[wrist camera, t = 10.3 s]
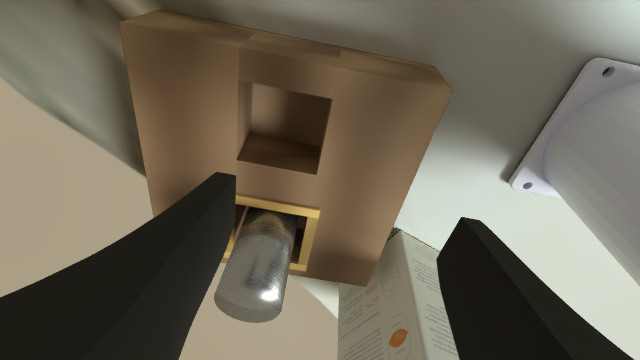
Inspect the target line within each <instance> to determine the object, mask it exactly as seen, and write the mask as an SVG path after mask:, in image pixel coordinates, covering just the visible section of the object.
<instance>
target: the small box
mask: <svg viewBox="0 0 640 360" xmlns="http://www.w3.org/2000/svg"><path fill="white" fill-rule="evenodd" d="M439 253H440V252H438V251H436V250H434V249H433V248H431V247H429V246H427V245H426V244H424V243H422V242H420V241H418V240H417V239H415V238H413V237H411V236H410V235H408V234H406V233H404V232H403V231H399V232H398V233H396V234H395V235H394V236H393V237H392V238H391V239H390V240H389V241H387V242H386V243H385V246H384V248H383V250H382V253H381V255H380V257H379V259H378V262H377V264H376V266H375V269H374V271H373V273H372V275H371V278H370V280H369V282H368V284H367V287H362V286H357V285H351V284H345V283H340V284H339V314H338V360H459V356H458V353H457V349H456V346H455V342H454V338H453V335H452V331H451V328H450V324H449V320H448V317H447V313H446V309H445V306H444V302H443V298H442V294H441V290H440V285H439V278H438V270H437V261H436V258H437V257H438V255H439Z"/></svg>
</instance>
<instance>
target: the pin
mask: <svg viewBox="0 0 640 360" xmlns="http://www.w3.org/2000/svg"><path fill="white" fill-rule="evenodd" d="M298 218H299V215H295V214H290V213H284V212H279V211H273V210H268V209H262V208H256V207H251V206H249V208H248V211H247V213H246V216H245V218H244V221H243V223H242V226H241V228H240V231H239V234H238V236H237V239H236V241H235V244H234V246H233V249H232V251H231V254H230V256H229V259H228V262H227V264H226V267H225V269H224V272H223V274H222V277H221V279H220V282H219V284H218V287H217V290H216V292H215V295H214V300H215V303H216V305H217V306H218V308H219V309H220V310H221V311H222V312H224V313H225V314H226V315H228V316H230V317H232V318H235V319H238V320H241V321H245V322H254V323H259V322H266V321H269V320H272V319H274V318H276V317H277V316H278V315H279V314H280V312H281V309H282V304H283V298H284V293H285V288H286V282H287V277H288V272H289V266H290V261H291V256H292V250H293V245H294V240H295V234H296V229H297V224H298Z"/></svg>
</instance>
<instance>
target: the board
mask: <svg viewBox="0 0 640 360" xmlns="http://www.w3.org/2000/svg"><path fill="white" fill-rule="evenodd" d="M119 27H120V32H121V38H122V44H123V49H124V55H125V60H126V66H127V72H128V77H129V83H130V88H131V94H132V99H133V105H134V111H135V116H136V122H137V127H138V133H139V139H140V144H141V150H142V155H143V161H144V167H145V172H146V178H147V183H148V188H149V194H150V200H151V206H152V211H153V217H156V216H157V215H159V214H160V213H162V212H163V211H165V210H166V209H167V208H169V207H170V206H171V205H173V204H174V203H176V202H177V201H178V200H180V199H181V198H182V197H184V196H185V195H186V194H188V193H189V192H190V191H192V190H193V189H194V188H196V187H197V186H198V185H199V184H201V183H202V182H203V181H205V180H206V179H207V178H208V177H210V176H211V175H212V174H214V173H215V172H221V173H227V174H232V175H236V203H235V224H234V228H233V231H232V234H231V237H230V240H229V243H228V246H227V249H226V252H225V254H224V256H223V258H222V260H221V262H222V263H227V262H228V259H229V256H230V254H231V251H232V249H233V246H234V244H235V241H236V239H237V236H238V234H239V231H240V228H241V226H242V223H243V221H244V218H245V216H246V213H247V211H248V208H249V206H251V207H256V208H262V209H268V210H273V211H279V212H284V213H290V214H295V215H299V218H298V224H297V229H296V234H295V240H294V245H293V250H292V256H291V261H290V266H289V272H288V274H292V275H298V276H304V277H310V278H316V279H321V280H327V281H333V282H339V283H345V284H351V285H357V286H362V287H367V284H368V282H369V280H370V278H371V275H372V273H373V271H374V269H375V266H376V264H377V262H378V259H379V257H380V255H381V253H382V250H383V248H384V246H385V243H386V241H387V239H388V237H389V234H390V232H391V230H392V227H393V225H394V223H395V221H396V218H397V216H398V214H399V212H400V209H401V207H402V205H403V202H404V200H405V198H406V196H407V193H408V191H409V189H410V186H411V184H412V182H413V180H414V177H415V175H416V173H417V170H418V168H419V166H420V164H421V161H422V159H423V157H424V155H425V152H426V150H427V148H428V145H429V143H430V141H431V139H432V136H433V134H434V132H435V129H436V127H437V125H438V123H439V120H440V118H441V116H442V113H443V111H444V109H445V107H446V104H447V102H448V100H449V98H450V95H451V93H452V91H453V90H452V89H451V88H450V87H449V85H448V84H447V83H446V81H445V80H444V79H443V77H442V76H441V75H440V74H439V72H438V71H437V70H436V68H435V67H434V66H429V65H424V64H419V63H414V62H410V61H405V60H400V59H395V58H390V57H386V56H381V55H376V54H371V53H366V52H361V51H357V50H352V49H347V48H342V47H337V46H333V45H328V44H323V43H318V42H313V41H308V40H304V39H299V38H294V37H289V36H284V35H280V34H275V33H270V32H265V31H260V30H255V29H251V28H246V27H241V26H236V25H231V24H227V23H222V22H217V21H212V20H207V19H202V18H198V17H193V16H188V15H183V14H178V13H174V12H169V11H164V10H158V11H154V12H151V13H148V14H144V15H141V16H138V17H135V18H131V19H128V20H125V21H121V22H119Z"/></svg>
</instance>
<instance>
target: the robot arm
mask: <svg viewBox="0 0 640 360" xmlns="http://www.w3.org/2000/svg"><path fill="white" fill-rule="evenodd" d="M608 67H610V68H609V71H608V72H607V73H606V74H604V75H602V73H603V71H604V70H605V69H606V68H608ZM527 182H529V183H528V184H527V185H524V184H525V183H527ZM509 185H510V186H511V188H512V189H514V190H518V191H523V192H528V193H534V194H539V195H544V196H549V197H554V198H560V199H564V201H565V202H566V203H567V204H568V205H569V206H570V207H571V209H572V210H573V211H574V212H575V213H576V214H577V215H578V217H579V218H580V219H581V220H582V221H583V222H584V223H585V224H586V226H587V227H588V228H589V229H590V230H591V231H592V232H593V234H594V235H595V236H596V237H597V238H598V239H599V240H600V242H601V243H602V244H603V245H604V246H605V247H606V248H607V250H608V251H609V252H610V253H611V254H612V255H613V256H614V258H615V259H616V260H617V261H618V262H619V263H620V264H621V265H622V267H623V268H624V269H625V270H626V271H627V272H628V273H629V275H630V276H631V277H632V278H633V279H634V280H635V281H636V283H637V284H638V285H639V286H640V66H638V65H633V64H629V63H624V62H619V61H615V60H610V59H605V58H595V59H592V60H591V61H589V62H588V63H587V64H586V65H585V66H584V68H583V69H582V71H581V72H580V74H579V76H578V77H577V79H576V80H575V82H574V83H573V85H572V86H571V88H570V89H569V91H568V92H567V94H566V95H565V97H564V98H563V100H562V101H561V103H560V104H559V106H558V107H557V109H556V110H555V112H554V113H553V115H552V116H551V118H550V119H549V121H548V122H547V124H546V125H545V127H544V128H543V130H542V131H541V133H540V134H539V136H538V138H537V139H536V141H535V142H534V144H533V145H532V147H531V148H530V150H529V151H528V153H527V154H526V156H525V157H524V159H523V160H522V162H521V163H520V165H519V166H518V168H517V169H516V171H515V172H514V174H513V175H512V177H511V178H510V180H509ZM235 203H236V175H232V174H227V173H221V172H215V173H214V174H212V175H211V176H210V177H208V178H207V179H206V180H205V181H203V182H202V183H201V184H199V185H198V186H197V187H196V188H194V189H193V190H192V191H190V192H189V193H188V194H186V195H185V196H184V197H182V198H181V199H180V200H178V201H177V202H176V203H174V204H173V205H171V206H170V207H169V208H167V209H166V210H165V211H163V212H162V213H160V214H159V215H157V216H156V217H154V218H153V219H151V220H150V221H148V222H147V223H145V224H144V225H142V226H141V227H139V228H138V229H136V230H134V231H133V232H131V233H130V234H128V235H126V236H125V237H123V238H121V239H120V240H118V241H116V242H115V243H113V244H111V245H109V246H107V247H106V248H104V249H102V250H100V251H98V252H97V253H95V254H93V255H91V256H89V257H88V258H85V259H83V260H81V261H79V262H77V263H75V264H73V265H71V266H69V267H67V268H65V269H63V270H61V271H59V272H56V273H54V274H52V275H50V276H48V277H46V278H44V279H42V280H40V281H37V282H36V283H33V284H31V285H28V286H26V287H24V288H21V289H19V290H17V291H15V292H12V293H10V294H8V295H5V296H3V297H0V360H178V359H179V356H180V354H181V351H182V348H183V346H184V343H185V340H186V337H187V335H188V332H189V329H190V327H191V325H192V322H193V320H194V318H195V315H196V313H197V311H198V309H199V307H200V305H201V303H202V301H203V298H204V296H205V294H206V292H207V290H208V288H209V286H210V284H211V282H212V279H213V277H214V275H215V273H216V271H217V269H218V266H219V264H220V262H221V260H222V258H223V256H224V254H225V252H226V249H227V246H228V243H229V240H230V237H231V234H232V231H233V228H234V224H235ZM436 261H437V270H438V278H439V285H440V290H441V294H442V298H443V302H444V306H445V309H446V313H447V317H448V320H449V324H450V328H451V331H452V335H453V338H454V342H455V346H456V349H457V353H458V356H459V360H634V359H633V358H631V357H630V356H629V355H627V354H626V353H625V352H623V351H622V350H621V349H620V348H618V347H617V346H616V345H615V344H613V343H612V342H611V341H610V340H608V339H607V338H606V337H605V336H604V335H602V334H601V333H600V332H599V331H598V330H596V329H595V328H594V327H593V326H591V325H590V324H589V323H588V322H587V321H585V320H584V319H583V318H582V317H581V316H580V315H579V314H577V313H576V312H575V311H574V310H573V309H572V308H571V307H570V306H568V305H567V304H566V303H565V302H564V301H563V300H562V299H561V298H560V297H559V296H558V295H556V294H555V293H554V292H553V291H552V290H551V289H550V288H549V287H548V286H547V285H546V284H545V283H544V282H543V281H542V280H541V279H539V278H538V277H537V276H536V275H535V274H534V273H533V272H532V271H531V270H530V269H529V268H528V267H527V266H526V265H525V264H524V263H523V262H522V261H521V260H520V259H519V258H518V257H517V256H516V255H515V254H514V253H513V252H512V251H511V250H510V249H509V248H508V247H507V246H506V245H505V244H504V243H503V242H502V241H501V240H500V239H499V238H498V237H497V236H496V235H495V234H494V233H493V232H492V231H491V230H490V229H489V228H488V227H487V226H486V225H485V224H484V223H482V222H481V221H480V220H475V219H470V218H465V217H461V218H460V220H459V222H458V223H457V225H456V227H455V228H454V230H453V232H452V233H451V235H450V237H449V238H448V240H447V242H446V243H445V245H444V247H443V248H442V250H441V252H440V253H439V255H438V257H437V258H436Z"/></svg>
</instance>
